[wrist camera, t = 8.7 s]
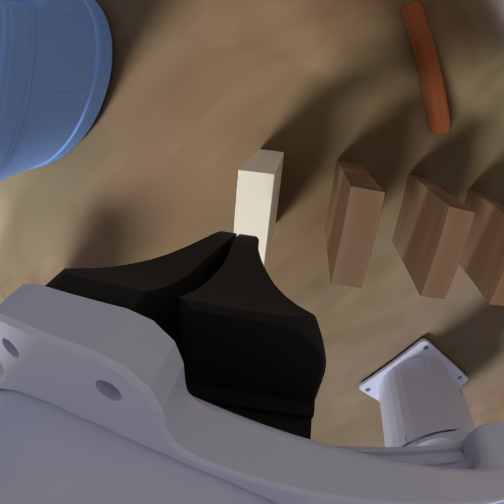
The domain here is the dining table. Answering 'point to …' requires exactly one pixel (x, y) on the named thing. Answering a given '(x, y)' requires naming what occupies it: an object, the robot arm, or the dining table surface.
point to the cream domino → (259, 197)
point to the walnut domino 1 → (352, 223)
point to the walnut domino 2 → (431, 235)
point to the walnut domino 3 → (485, 247)
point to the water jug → (49, 78)
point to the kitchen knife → (427, 67)
